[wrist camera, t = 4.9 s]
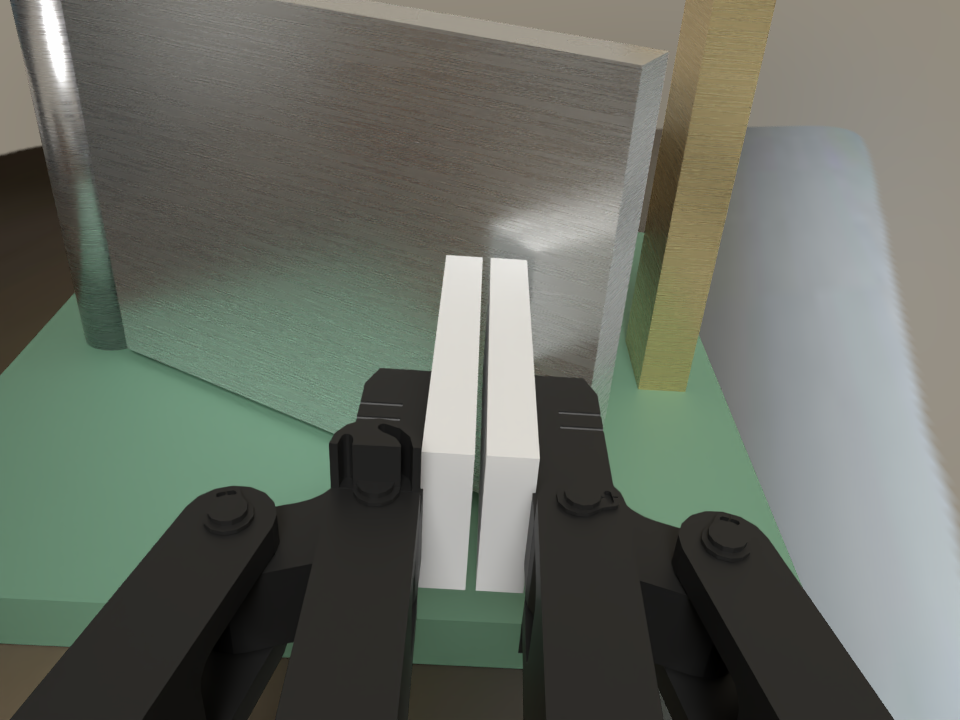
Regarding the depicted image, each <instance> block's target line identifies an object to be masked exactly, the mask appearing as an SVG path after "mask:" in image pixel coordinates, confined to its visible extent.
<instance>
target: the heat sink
mask: <svg viewBox="0 0 960 720" xmlns="http://www.w3.org/2000/svg"><path fill="white" fill-rule="evenodd" d="M10 2H11V6H12V11H13V15H14V19H15V25H16V29H17V33H18V38H19V42H20V47H21V51H22V56H23V61H24V65H25V69H26V74H27V78H28V83H29V87H30V92H31V97H32V101H33V105H34V110H35V114H36V119H37V124H38V128H39V133H40V137H41V142H42V146H43V151H44V155H45V160H46V164H47V169H48V173H49V178H50V182H51V187H52V191H53V196H54V200H55V205H56V209H57V214H58V218H59V223H60V227H61V232H62V236H63V241H64V245H65V250H66V254H67V259H68V263H69V268H70V272H71V277H72V281H73V286H74V290H75V295H76V299H77V304H78V308H79V313H80V317H81V322H82V326H83V331H84V335H85V340H86V342H87V344H88V345H89V346H91V347H93V348H96V349H99V350H108V351H113V350H122V349H127V343H126V338H125V333H124V328H123V322H122V317H121V312H120V307H119V301H118V296H117V291H116V286H115V281H114V275H113V270H112V265H111V260H110V255H109V249H108V244H107V239H106V234H105V229H104V223H103V218H102V213H101V208H100V203H99V197H98V192H97V187H96V182H95V176H94V171H93V166H92V161H91V156H90V150H89V145H88V140H87V135H86V130H85V124H84V119H83V114H82V109H81V104H80V98H79V93H78V88H77V83H76V77H75V72H74V67H73V62H72V57H71V51H70V46H69V41H68V36H67V31H66V25H65V20H64V15H63V10H62V5H61V0H10ZM775 3H776V0H686V3H685V8H684V14H683V19H682V25H681V31H680V37H679V42H678V48H677V54H676V59H675V65H674V70H673V76H672V81H671V87H670V92H669V98H668V104H667V109H666V115H665V120H664V126H663V132H662V137H661V143H660V148H659V154H658V160H657V165H656V171H655V176H654V182H653V188H652V193H651V199H650V204H649V210H648V216H647V221H646V227H645V232H644V238H643V244H642V249H641V255H640V260H639V266H638V272H637V277H636V283H635V288H634V294H633V300H632V305H631V311H630V316H629V322H628V328H627V333H626V339H625V342H626V345H627V349H628V353H629V357H630V361H631V364H632V368H633V372H634V376H635V380H636V383H637V387H638V389H640V390H658V391H676V392H685V391H686V387H687V383H688V378H689V374H690V370H691V365H692V361H693V357H694V352H695V348H696V344H697V339H698V335H699V331H700V327H701V322H702V318H703V314H704V309H705V305H706V301H707V296H708V292H709V288H710V283H711V279H712V275H713V270H714V266H715V262H716V258H717V253H718V249H719V245H720V240H721V236H722V232H723V227H724V223H725V219H726V214H727V210H728V206H729V201H730V197H731V193H732V189H733V184H734V180H735V176H736V171H737V167H738V163H739V158H740V154H741V150H742V145H743V141H744V137H745V132H746V128H747V124H748V120H749V115H750V111H751V106H752V102H753V98H754V93H755V89H756V85H757V80H758V76H759V72H760V68H761V63H762V59H763V55H764V51H765V46H766V42H767V38H768V33H769V29H770V24H771V20H772V16H773V12H774V7H775Z"/></svg>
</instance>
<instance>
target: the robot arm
mask: <svg viewBox="0 0 960 720" xmlns="http://www.w3.org/2000/svg"><path fill="white" fill-rule="evenodd" d="M482 262H483V257H470V256H453V255H446V261H445V269H444V277H443V285H442V293H441V301H440V309H439V317H438V324H437V332H436V340H435V348H434V356H433V364H432V371H423V370H406V369H390V368H380V369H379V370H378V371H377V372H376V373H374V374H373V375H372V376H371V377H370V378H369V379H368V380H367V381H366V382H365V385H364V389H363V393H362V397H361V401H360V405H359V409H358V413H357V419H356V421H355V422H353V423H350V424H347V425H345V426H344V427H343V428H341V429H340V430H338V431H337V432H335V434H334V435H333V437H332V439H331V440H330V442H329V460H330V481H331V488H330V489H329V490H327V491H326V492H325V493H323V494H321V495H319V496H317V497H314V498H312V499H309V500H305V501H301V502H298V503H292V504H286V505H281V506H275V503H274V501H273V500H272V499H271V498H270V497H269V496H268V495H267V494H266V493H265V492H262V491H260V490H257V489H255V488H252V487H246V486H228V487H222V488H216V489H213V490H211V491H209V492H206V493H204V494H202V495H200V496H198V497H197V498H196V499H194V500H193V501H192V502H191V503H190V504H188V505H187V506H186V507H185V508H184V510H183V511H182V512H181V513H180V514H179V516H178V517H177V518H176V519H175V521H174V522H173V523H172V524H171V525H170V527H169V528H168V529H167V530H166V531H165V533H164V534H163V535H162V536H161V537H160V539H159V540H158V541H157V542H156V543H155V545H154V546H153V547H152V548H151V550H150V551H149V552H148V553H147V554H146V556H145V557H144V558H143V559H142V560H141V562H140V563H139V564H138V565H137V566H136V568H135V569H134V570H133V571H132V573H131V574H130V575H129V576H128V577H127V579H126V580H125V581H124V582H123V583H122V585H121V586H120V587H119V588H118V589H117V591H116V592H115V593H114V594H113V596H112V597H111V598H110V599H109V600H108V602H107V603H106V604H105V605H104V606H103V608H102V609H101V610H100V611H99V612H98V614H97V615H96V616H95V617H94V618H93V620H92V621H91V622H90V623H89V625H88V626H87V627H86V628H85V629H84V631H83V632H82V633H81V634H80V635H79V637H78V638H77V639H76V640H75V641H74V643H73V644H72V645H71V646H70V648H69V649H68V650H67V651H66V652H65V654H64V655H63V656H62V657H61V658H60V660H59V661H58V662H57V663H56V664H55V666H54V667H53V668H52V669H51V671H50V672H49V673H48V674H47V675H46V677H45V678H44V679H43V680H42V681H41V683H40V684H39V685H38V686H37V687H36V689H35V690H34V691H33V692H32V693H31V695H30V696H29V697H28V698H27V700H26V701H25V702H24V703H23V704H22V706H21V707H20V708H19V709H18V710H17V712H16V713H15V714H14V715H13V716H12V718H11V719H10V720H247V719H248V718H249V716H250V714H251V712H252V710H253V709H254V707H255V705H256V703H257V701H258V699H259V698H260V696H261V694H262V692H263V690H264V689H265V687H266V685H267V683H268V681H269V680H270V678H271V676H272V674H273V672H274V671H275V669H276V667H277V665H278V663H279V662H280V660H281V658H282V656H283V654H284V652H285V649H286V646H287V643H292V642H294V643H293V647H292V651H291V655H290V659H289V664H288V668H287V672H286V676H285V680H284V684H283V689H282V693H281V697H280V701H279V705H278V709H277V714H276V718H275V720H407V719H408V708H409V697H410V686H411V675H412V664H413V653H414V642H415V631H416V620H417V596H418V587H420V588H438V589H456V590H465V587H466V573H467V559H468V545H469V530H470V516H471V502H472V488H473V474H474V460H475V438H476V413H477V388H478V363H479V337H480V312H481V287H482ZM600 415H601V412H600V406H599V401H598V395H597V394H596V393H595V391H594V390H593V389H592V388H591V387H590V385H589V384H588V383H587V382H586V381H585V380H584V378H571V377H555V376H538V375H534V360H533V345H532V329H531V314H530V298H529V283H528V267H527V260H518V259H502V258H491V261H490V275H489V288H488V302H487V316H486V330H485V344H484V358H483V376H482V408H481V439H480V470H479V502H478V533H477V565H476V591H492V592H510V593H523V591H524V583H525V601H524V609H523V617H522V625H521V633H520V641H519V649H518V653H523V717H524V720H663V714H662V708H661V702H660V696H659V691H660V693H661V695H662V697H663V699H664V702H665V704H666V706H667V708H668V711H669V713H670V715H671V717H672V720H894V719H893V717H892V716H891V714H890V713H889V711H888V710H887V709H886V707H885V706H884V704H883V703H882V701H881V700H880V698H879V697H878V696H877V694H876V693H875V691H874V690H873V688H872V687H871V685H870V684H869V683H868V681H867V680H866V678H865V677H864V675H863V674H862V672H861V671H860V670H859V668H858V667H857V665H856V664H855V662H854V661H853V660H852V658H851V657H850V655H849V654H848V652H847V651H846V649H845V648H844V647H843V645H842V644H841V642H840V641H839V639H838V638H837V636H836V635H835V634H834V632H833V631H832V629H831V628H830V626H829V625H828V623H827V622H826V621H825V619H824V618H823V616H822V615H821V613H820V612H819V611H818V609H817V608H816V606H815V605H814V603H813V602H812V600H811V599H810V598H809V596H808V595H807V593H806V592H805V590H804V589H803V587H802V586H801V585H800V583H799V582H798V580H797V579H796V577H795V576H794V574H793V573H792V572H791V570H790V569H789V567H788V566H787V564H786V563H785V562H784V560H783V559H782V557H781V556H780V554H779V553H778V551H777V550H776V549H775V547H774V546H773V544H772V543H771V541H770V540H769V538H768V537H767V536H766V535H765V534H764V533H763V532H762V531H761V530H760V529H759V528H758V527H757V526H756V525H754V524H752V523H750V522H749V521H747V520H745V519H743V518H742V517H739V516H736V515H733V514H729V513H726V512H719V511H704V512H700V513H697V514H693V515H691V516H689V517H688V518H687V519H686V520H685V521H684V522H682V524H681V527H680V528H678V527H675V526H671V525H668V524H664V523H661V522H658V521H655V520H652V519H650V518H647V517H644V516H642V515H641V514H639V513H637V512H635V511H634V510H632V509H631V508H630V507H628V506H627V505H626V502H625V500H624V498H623V496H622V494H621V492H620V491H619V490H618V489H616V488H615V487H614V485H613V481H612V475H611V469H610V464H609V458H608V452H607V447H606V441H605V435H604V432H603V424H602V418H601V416H600ZM658 688H659V691H658Z"/></svg>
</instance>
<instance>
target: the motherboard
mask: <svg viewBox="0 0 960 720" xmlns="http://www.w3.org/2000/svg"><path fill="white" fill-rule="evenodd" d="M643 238H644V233H641V232H638V233H637V239H636V245H635V251H634V256H633V262H632V268H631V274H630V279H629V285H628V291H627V297H626V302H625V308H624V314H623V320H622V325H621V331H620V337H619V343H618V348H617V354H616V360H615V366H614V371H613V377H612V383H611V389H610V395H609V400H608V406H607V412H606V418H605V423H604V429H603V432H604V435H605V441H606V447H607V452H608V458H609V464H610V469H611V475H612V481H613V485H614V487H615V488H616V489H618V490H619V491H620V492H621V494H622V496H623V498H624V500H625V502H626V505H627V506H628V507H630V508H631V509H632V510H634V511H635V512H637V513H639V514H641V515H642V516H644V517H647V518H650V519H652V520H655V521H658V522H661V523H664V524H668V525H671V526H675V527H678V528H680V527H681V524H682V522H684V521H685V520H686V519H687V518H688V517H689V516H691V515H693V514H697V513H700V512H704V511H719V512H726V513H729V514H733V515H736V516H739V517H742V518H743V519H745V520H747V521H749V522H750V523H752V524H754V525H756V526H757V527H758V528H759V529H760V530H761V531H762V532H763V533H764V534H765V535H766V536H767V537H768V538H769V540H770V541H771V543H772V544H773V546H774V547H775V549H776V550H777V551H778V553H779V554H780V556H781V557H782V559H783V560H784V562H785V563H786V564H787V566H788V567H789V569H790V570H791V572H792V573H793V574H794V576H795V577H796V579H797V580H798V582H799V583H800V580H799V578H798V575H797V573H796V570H795V568H794V566H793V563H792V561H791V558H790V556H789V553H788V551H787V549H786V546H785V544H784V541H783V539H782V536H781V534H780V532H779V529H778V527H777V524H776V522H775V519H774V517H773V515H772V512H771V510H770V507H769V505H768V502H767V500H766V497H765V495H764V493H763V490H762V488H761V485H760V483H759V480H758V478H757V476H756V473H755V471H754V468H753V466H752V463H751V461H750V459H749V456H748V454H747V451H746V449H745V446H744V444H743V442H742V439H741V437H740V434H739V432H738V429H737V427H736V425H735V422H734V420H733V417H732V415H731V412H730V410H729V408H728V405H727V403H726V400H725V398H724V395H723V393H722V391H721V388H720V386H719V383H718V381H717V378H716V376H715V374H714V371H713V369H712V366H711V364H710V361H709V359H708V356H707V354H706V352H705V349H704V347H703V344H702V342H701V339H700V337H699V335H698V339H697V344H696V348H695V352H694V357H693V361H692V365H691V370H690V374H689V378H688V383H687V387H686V391H685V392H676V391H658V390H640V389H638V387H637V383H636V380H635V376H634V372H633V368H632V364H631V361H630V357H629V353H628V349H627V345H626V342H625V339H626V333H627V328H628V322H629V316H630V311H631V305H632V300H633V294H634V288H635V283H636V277H637V272H638V266H639V260H640V255H641V249H642V244H643ZM333 435H334V434H333V433H331V432H329V431H326V430H324V429H321V428H319V427H316V426H314V425H312V424H309V423H307V422H304V421H302V420H300V419H297V418H295V417H292V416H290V415H287V414H285V413H283V412H280V411H278V410H275V409H273V408H271V407H268V406H266V405H263V404H261V403H258V402H256V401H254V400H251V399H249V398H246V397H244V396H241V395H239V394H237V393H234V392H232V391H229V390H227V389H225V388H222V387H220V386H217V385H215V384H212V383H210V382H208V381H205V380H203V379H200V378H198V377H196V376H193V375H191V374H188V373H186V372H183V371H181V370H179V369H176V368H174V367H171V366H169V365H167V364H164V363H162V362H159V361H157V360H154V359H152V358H150V357H147V356H145V355H142V354H140V353H138V352H135V351H133V350H130V349H128V348H127V349H122V350H113V351H108V350H99V349H96V348H93V347H91V346H89V345H88V344H87V342H86V340H85V335H84V331H83V326H82V322H81V317H80V313H79V308H78V304H77V299H76V295H75V293H74V294H73V295H72V296H71V297H70V299H69V300H68V301H67V302H66V303H65V304H64V305H63V306H62V307H61V309H60V310H59V311H58V312H57V313H56V314H55V315H54V316H53V317H52V319H51V320H50V321H49V322H48V323H47V324H46V325H45V326H44V327H43V329H42V330H41V331H40V332H39V333H38V334H37V335H36V336H35V337H34V339H33V340H32V341H31V342H30V343H29V344H28V345H27V346H26V347H25V349H24V350H23V351H22V352H21V353H20V354H19V355H18V356H17V357H16V359H15V360H14V361H13V362H12V363H11V364H10V365H9V366H8V367H7V369H6V370H5V371H4V372H3V373H2V374H1V375H0V643H4V644H24V645H45V646H65V647H70V646H71V645H72V644H73V643H74V641H75V640H76V639H77V638H78V637H79V635H80V634H81V633H82V632H83V631H84V629H85V628H86V627H87V626H88V625H89V623H90V622H91V621H92V620H93V618H94V617H95V616H96V615H97V614H98V612H99V611H100V610H101V609H102V608H103V606H104V605H105V604H106V603H107V602H108V600H109V599H110V598H111V597H112V596H113V594H114V593H115V592H116V591H117V589H118V588H119V587H120V586H121V585H122V583H123V582H124V581H125V580H126V579H127V577H128V576H129V575H130V574H131V573H132V571H133V570H134V569H135V568H136V566H137V565H138V564H139V563H140V562H141V560H142V559H143V558H144V557H145V556H146V554H147V553H148V552H149V551H150V550H151V548H152V547H153V546H154V545H155V543H156V542H157V541H158V540H159V539H160V537H161V536H162V535H163V534H164V533H165V531H166V530H167V529H168V528H169V527H170V525H171V524H172V523H173V522H174V521H175V519H176V518H177V517H178V516H179V514H180V513H181V512H182V511H183V510H184V508H185V507H186V506H187V505H188V504H190V503H191V502H192V501H193V500H194V499H196V498H197V497H198V496H200V495H202V494H204V493H206V492H209V491H211V490H213V489H216V488H222V487H228V486H246V487H252V488H255V489H257V490H260V491H262V492H265V493H266V494H267V495H268V496H269V497H270V498H271V499H272V500H273V501H274V503H275V506H281V505H286V504H292V503H298V502H301V501H305V500H309V499H312V498H314V497H317V496H319V495H321V494H323V493H325V492H326V491H327V490H329V489H330V488H331V481H330V460H329V442H330V440H331V439H332V437H333ZM478 502H479V494H478V493H476V492H474V491H472V502H471V516H470V530H469V545H468V559H467V573H466V587H465V590H456V589H438V588H420V587H418V596H417V620H416V631H415V642H414V653H413V664H434V665H454V666H475V667H495V668H516V669H523V653H518V649H519V641H520V633H521V625H522V617H523V609H524V601H525V583H524V591H523V593H510V592H492V591H476V565H477V533H478ZM800 585H801V583H800ZM801 586H802V585H801ZM293 643H294V642H292V643H287V646H286V649H285V652H284V654H283V656H282V657H290V655H291V651H292V647H293Z"/></svg>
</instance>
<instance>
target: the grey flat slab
mask: <svg viewBox="0 0 960 720" xmlns="http://www.w3.org/2000/svg"><path fill="white" fill-rule="evenodd" d="M61 5H62V10H63V15H64V20H65V25H66V31H67V36H68V41H69V46H70V51H71V57H72V62H73V67H74V72H75V77H76V83H77V88H78V93H79V98H80V104H81V109H82V114H83V119H84V124H85V130H86V135H87V140H88V145H89V150H90V156H91V161H92V166H93V171H94V176H95V182H96V187H97V192H98V197H99V203H100V208H101V213H102V218H103V223H104V229H105V234H106V239H107V244H108V249H109V255H110V260H111V265H112V270H113V275H114V281H115V286H116V291H117V296H118V301H119V307H120V312H121V317H122V322H123V328H124V333H125V338H126V343H127V348H128V349H130V350H133V351H135V352H138V353H140V354H142V355H145V356H147V357H150V358H152V359H154V360H157V361H159V362H162V363H164V364H167V365H169V366H171V367H174V368H176V369H179V370H181V371H183V372H186V373H188V374H191V375H193V376H196V377H198V378H200V379H203V380H205V381H208V382H210V383H212V384H215V385H217V386H220V387H222V388H225V389H227V390H229V391H232V392H234V393H237V394H239V395H241V396H244V397H246V398H249V399H251V400H254V401H256V402H258V403H261V404H263V405H266V406H268V407H271V408H273V409H275V410H278V411H280V412H283V413H285V414H287V415H290V416H292V417H295V418H297V419H300V420H302V421H304V422H307V423H309V424H312V425H314V426H316V427H319V428H321V429H324V430H326V431H329V432H331V433H333V434H335V432H337V431H338V430H340V429H341V428H343V427H344V426H345V425H347V424H350V423H353V422H355V421H356V419H357V413H358V409H359V405H360V401H361V397H362V393H363V389H364V385H365V382H366V381H367V380H368V379H369V378H370V377H371V376H372V375H373V374H374V373H376V372H377V371H378V370H379V369H380V368H390V369H406V370H423V371H432V364H433V356H434V348H435V340H436V332H437V324H438V317H439V309H440V301H441V293H442V285H443V277H444V269H445V261H446V255H453V256H470V257H483V262H482V287H481V312H480V337H479V363H478V388H477V413H476V438H475V460H474V474H473V488H472V491H474V492H476V493H478V494H479V470H480V439H481V408H482V376H483V358H484V344H485V330H486V316H487V302H488V288H489V275H490V261H491V258H502V259H518V260H527V267H528V283H529V298H530V314H531V329H532V345H533V360H534V375H538V376H555V377H571V378H584V380H585V381H586V382H587V383H588V384H589V385H590V387H591V388H592V389H593V390H594V391H595V393H596V394H597V395H598V401H599V406H600V412H601V415H600V416H601V418H602V424H603V429H604V423H605V418H606V412H607V406H608V400H609V395H610V389H611V383H612V377H613V371H614V366H615V360H616V354H617V348H618V343H619V337H620V331H621V325H622V320H623V314H624V308H625V302H626V297H627V291H628V285H629V279H630V274H631V268H632V262H633V256H634V251H635V245H636V239H637V233H638V228H639V222H640V216H641V210H642V205H643V199H644V193H645V187H646V182H647V176H648V170H649V164H650V159H651V153H652V147H653V141H654V136H655V130H656V124H657V118H658V113H659V107H660V101H661V95H662V89H663V84H664V78H665V72H666V66H667V61H668V55H669V51H665V50H659V49H653V48H647V47H641V46H635V45H629V44H624V43H618V42H612V41H606V40H600V39H594V38H588V37H582V36H576V35H570V34H564V33H558V32H552V31H547V30H541V29H534V28H529V27H522V26H517V25H511V24H505V23H499V22H494V21H488V20H481V19H475V18H470V17H464V16H458V15H452V14H446V13H440V12H434V11H428V10H422V9H417V8H411V7H405V6H399V5H393V4H387V3H381V2H375V1H370V0H61Z"/></svg>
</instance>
